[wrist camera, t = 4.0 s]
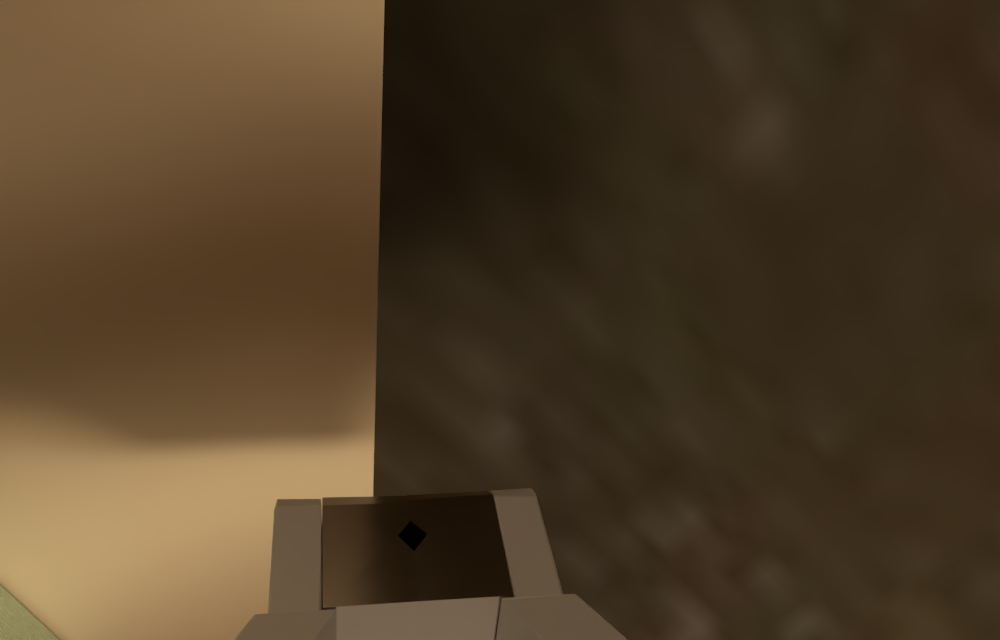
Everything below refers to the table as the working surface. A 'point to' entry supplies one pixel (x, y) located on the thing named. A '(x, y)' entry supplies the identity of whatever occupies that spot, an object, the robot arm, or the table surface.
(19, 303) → the cutting board
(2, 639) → the bar
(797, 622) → the table surface
